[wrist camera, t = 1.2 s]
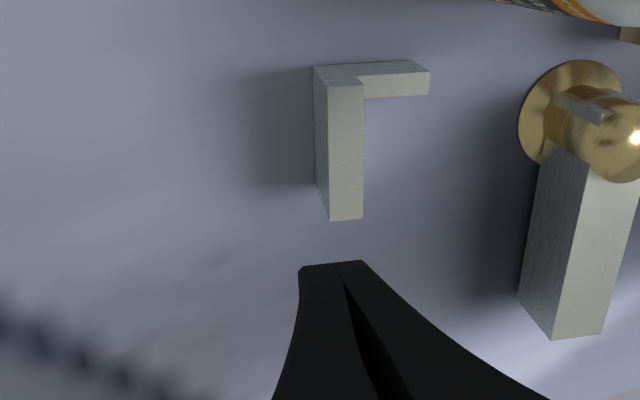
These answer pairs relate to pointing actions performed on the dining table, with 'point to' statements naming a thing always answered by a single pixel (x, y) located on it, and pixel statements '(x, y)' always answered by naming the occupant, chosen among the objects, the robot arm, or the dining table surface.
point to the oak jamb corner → (630, 35)
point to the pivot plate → (543, 93)
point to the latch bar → (581, 210)
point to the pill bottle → (589, 10)
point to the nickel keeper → (352, 125)
